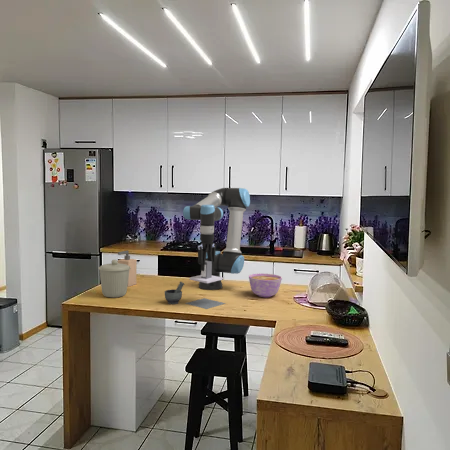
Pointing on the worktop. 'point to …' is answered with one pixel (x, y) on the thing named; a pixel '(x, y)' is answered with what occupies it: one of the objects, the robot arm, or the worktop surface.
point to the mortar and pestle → (174, 294)
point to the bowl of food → (265, 284)
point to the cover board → (198, 278)
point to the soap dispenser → (132, 264)
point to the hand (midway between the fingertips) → (206, 275)
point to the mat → (205, 303)
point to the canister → (114, 279)
